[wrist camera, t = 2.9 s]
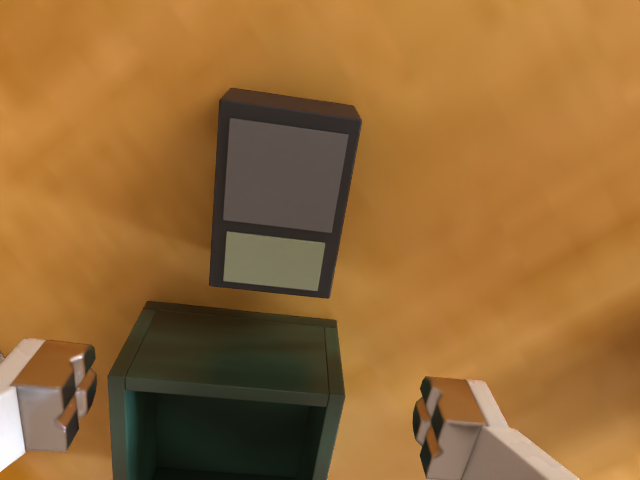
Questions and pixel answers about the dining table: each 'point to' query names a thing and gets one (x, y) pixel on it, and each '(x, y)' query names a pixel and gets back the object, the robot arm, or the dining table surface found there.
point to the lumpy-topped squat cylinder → (1, 358)
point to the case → (225, 396)
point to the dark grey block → (280, 192)
